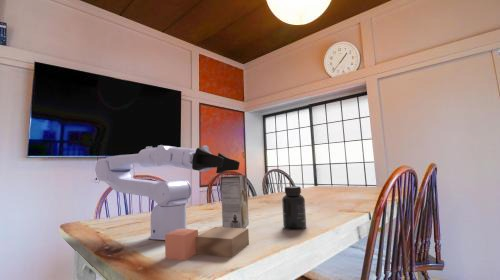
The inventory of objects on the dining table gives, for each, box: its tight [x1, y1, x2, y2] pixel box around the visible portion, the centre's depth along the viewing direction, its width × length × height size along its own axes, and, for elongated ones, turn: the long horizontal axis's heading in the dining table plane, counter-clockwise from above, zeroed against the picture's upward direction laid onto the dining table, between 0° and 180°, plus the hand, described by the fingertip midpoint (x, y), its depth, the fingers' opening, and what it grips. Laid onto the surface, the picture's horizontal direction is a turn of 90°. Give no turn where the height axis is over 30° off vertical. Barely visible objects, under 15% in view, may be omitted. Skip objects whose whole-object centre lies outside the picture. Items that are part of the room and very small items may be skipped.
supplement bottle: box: [281, 185, 307, 231], centre depth 75 cm, size 7×7×12 cm
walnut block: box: [195, 226, 250, 258], centre depth 58 cm, size 9×9×4 cm
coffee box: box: [220, 174, 250, 229], centre depth 79 cm, size 9×6×16 cm
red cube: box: [164, 228, 199, 261], centre depth 55 cm, size 5×5×5 cm
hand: (230, 164), depth 63 cm, fingers open, 7 cm apart
